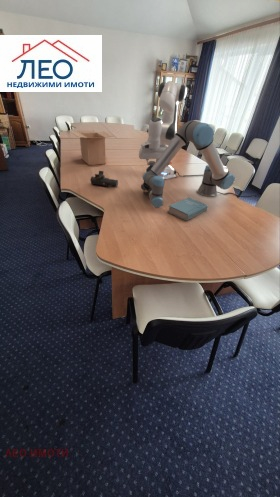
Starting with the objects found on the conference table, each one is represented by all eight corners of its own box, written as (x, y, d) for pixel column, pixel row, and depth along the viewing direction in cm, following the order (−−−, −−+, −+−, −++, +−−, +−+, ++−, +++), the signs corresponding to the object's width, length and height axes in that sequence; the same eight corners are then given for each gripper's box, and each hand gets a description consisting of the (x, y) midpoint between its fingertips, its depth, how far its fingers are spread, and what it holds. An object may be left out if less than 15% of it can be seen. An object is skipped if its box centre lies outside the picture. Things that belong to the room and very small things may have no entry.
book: (187, 203, 164) (188, 197, 161) (206, 211, 155) (207, 205, 152) (167, 212, 150) (168, 205, 147) (187, 221, 142) (188, 214, 139)
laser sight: (115, 189, 177) (115, 177, 171) (88, 185, 180) (87, 173, 174) (118, 185, 185) (118, 173, 179) (93, 181, 188) (92, 169, 182)
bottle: (147, 190, 180) (149, 160, 166) (155, 192, 178) (159, 162, 164) (142, 193, 175) (145, 162, 161) (151, 195, 172) (154, 164, 158)
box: (116, 165, 229) (116, 136, 213) (83, 168, 214) (80, 137, 198) (102, 154, 259) (101, 128, 243) (71, 156, 244) (68, 129, 228)
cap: (148, 164, 162) (148, 161, 161) (150, 163, 165) (150, 160, 164) (153, 165, 161) (153, 162, 159) (155, 164, 164) (156, 161, 163)
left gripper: (165, 143, 160) (163, 163, 168) (138, 143, 155) (137, 163, 163) (169, 145, 155) (166, 166, 163) (141, 145, 150) (139, 166, 158)
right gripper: (139, 199, 159) (136, 187, 177) (167, 199, 161) (161, 187, 180) (140, 189, 154) (136, 177, 172) (168, 189, 157) (162, 178, 175)
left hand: (151, 164), depth 163 cm, fingers closed on cap, 4 cm apart
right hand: (149, 182), depth 176 cm, fingers closed on bottle, 8 cm apart
